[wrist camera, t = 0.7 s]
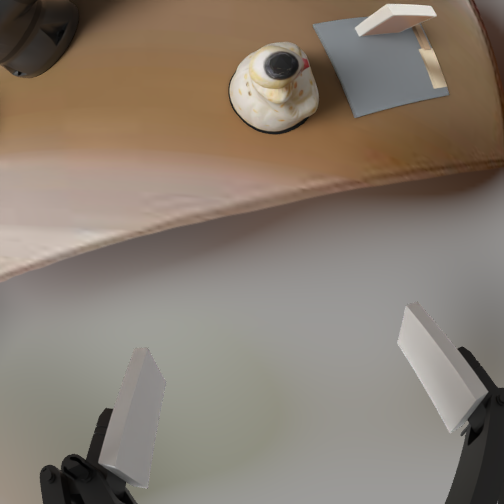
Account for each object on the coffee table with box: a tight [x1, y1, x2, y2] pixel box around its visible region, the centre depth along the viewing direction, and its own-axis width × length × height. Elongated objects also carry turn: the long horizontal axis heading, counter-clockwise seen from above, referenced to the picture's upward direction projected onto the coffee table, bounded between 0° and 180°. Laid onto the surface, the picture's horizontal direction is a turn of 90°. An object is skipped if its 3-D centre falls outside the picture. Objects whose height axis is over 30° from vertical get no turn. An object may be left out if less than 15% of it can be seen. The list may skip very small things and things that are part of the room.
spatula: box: [412, 24, 447, 89], centre depth 26 cm, size 15×3×1 cm, turn 23°
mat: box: [313, 17, 449, 118], centre depth 28 cm, size 15×20×1 cm
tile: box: [355, 4, 437, 37], centre depth 21 cm, size 2×8×10 cm, turn 113°
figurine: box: [229, 42, 319, 134], centre depth 22 cm, size 12×10×20 cm
